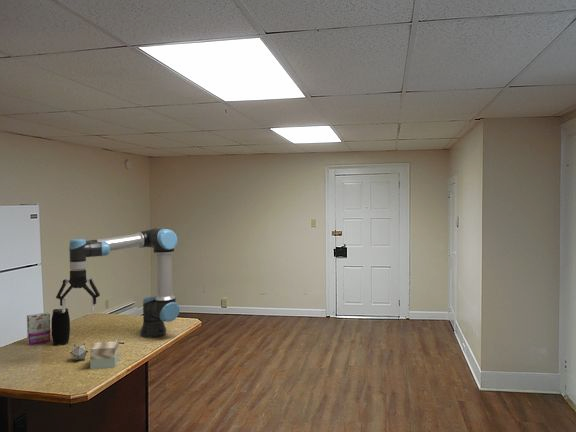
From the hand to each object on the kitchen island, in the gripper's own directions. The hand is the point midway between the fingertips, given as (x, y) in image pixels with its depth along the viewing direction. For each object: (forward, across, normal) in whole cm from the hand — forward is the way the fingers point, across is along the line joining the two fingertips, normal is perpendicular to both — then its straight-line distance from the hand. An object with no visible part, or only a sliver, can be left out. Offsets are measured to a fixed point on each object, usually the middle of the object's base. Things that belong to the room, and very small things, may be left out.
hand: (78, 311), depth 227 cm
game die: (+25, 0, 0) cm, 25 cm away
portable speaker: (+25, +17, -32) cm, 44 cm away
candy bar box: (+25, +30, -37) cm, 54 cm away
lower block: (+25, -14, +10) cm, 31 cm away
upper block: (+20, -14, +10) cm, 27 cm away
